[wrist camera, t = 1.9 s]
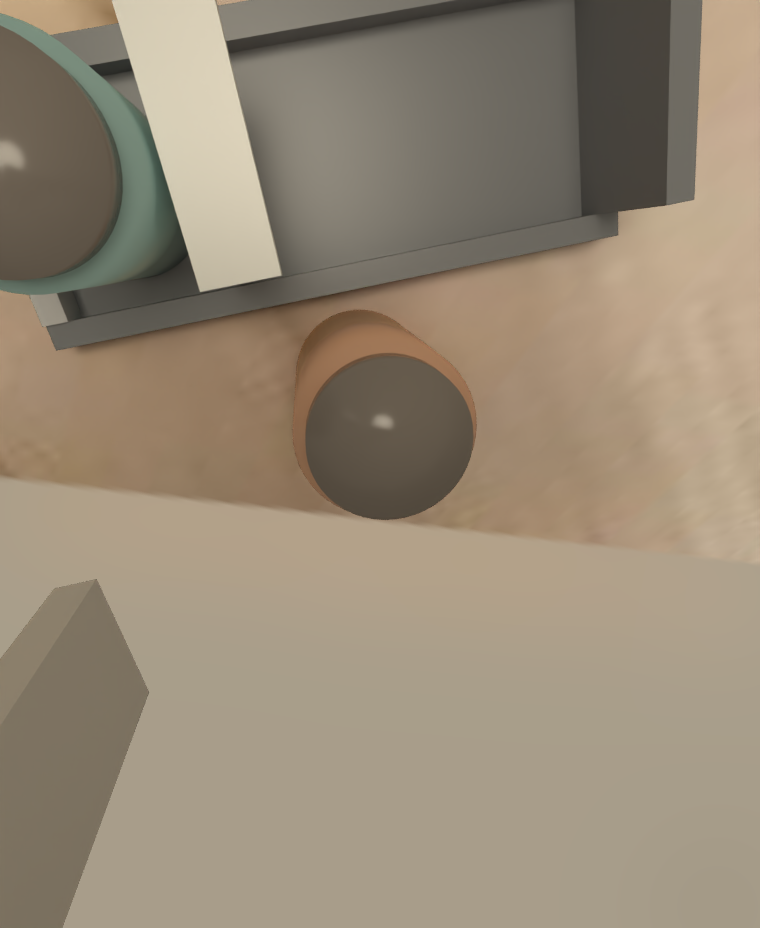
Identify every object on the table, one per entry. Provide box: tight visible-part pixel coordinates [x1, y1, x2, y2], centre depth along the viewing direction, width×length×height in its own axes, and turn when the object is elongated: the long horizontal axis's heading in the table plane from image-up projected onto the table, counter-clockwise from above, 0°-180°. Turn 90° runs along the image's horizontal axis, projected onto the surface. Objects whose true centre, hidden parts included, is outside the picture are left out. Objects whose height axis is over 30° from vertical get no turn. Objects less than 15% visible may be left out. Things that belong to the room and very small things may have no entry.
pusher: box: [112, 0, 282, 292], centre depth 18 cm, size 2×7×8 cm, turn 11°
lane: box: [29, 0, 702, 351], centre depth 19 cm, size 24×10×7 cm, turn 101°
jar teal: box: [0, 14, 188, 295], centre depth 17 cm, size 6×6×10 cm
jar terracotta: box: [293, 310, 477, 520], centre depth 21 cm, size 6×6×10 cm
